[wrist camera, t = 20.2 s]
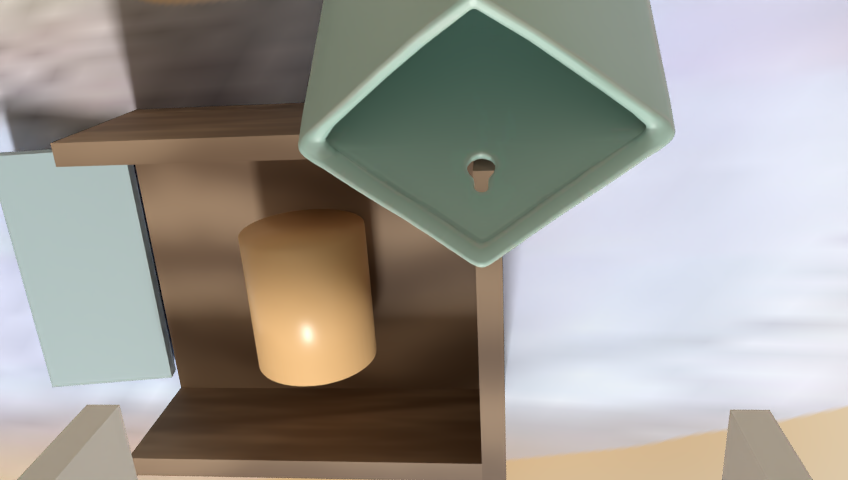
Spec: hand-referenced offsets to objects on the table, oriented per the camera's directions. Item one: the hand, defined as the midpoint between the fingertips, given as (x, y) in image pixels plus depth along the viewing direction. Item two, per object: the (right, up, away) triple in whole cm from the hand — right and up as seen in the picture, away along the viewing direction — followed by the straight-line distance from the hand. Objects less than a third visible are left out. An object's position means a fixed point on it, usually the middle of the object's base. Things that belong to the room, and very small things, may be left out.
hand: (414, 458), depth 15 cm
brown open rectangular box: (-6, +4, +30) cm, 31 cm away
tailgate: (-18, +3, +30) cm, 35 cm away
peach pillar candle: (-6, +3, +29) cm, 30 cm away
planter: (+3, +22, +20) cm, 30 cm away
